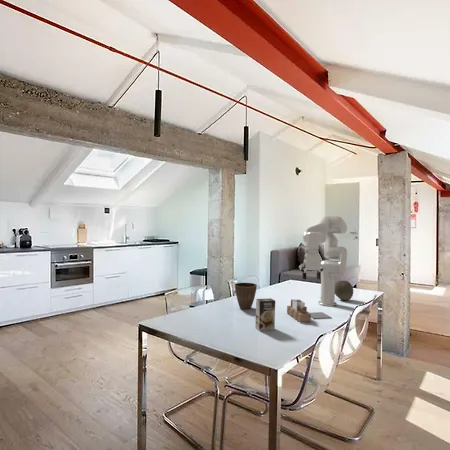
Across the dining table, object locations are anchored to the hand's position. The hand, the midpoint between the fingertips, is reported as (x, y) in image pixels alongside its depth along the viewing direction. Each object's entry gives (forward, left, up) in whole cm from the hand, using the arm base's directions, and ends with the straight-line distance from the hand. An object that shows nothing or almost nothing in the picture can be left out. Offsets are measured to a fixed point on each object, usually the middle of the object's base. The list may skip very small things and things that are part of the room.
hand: (311, 279), depth 215 cm
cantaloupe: (-37, +43, -23) cm, 61 cm away
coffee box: (+21, -37, -23) cm, 48 cm away
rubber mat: (+1, +4, -23) cm, 24 cm away
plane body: (+3, -10, -23) cm, 25 cm away
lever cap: (+3, -10, -18) cm, 21 cm away
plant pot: (-23, -37, -23) cm, 49 cm away
